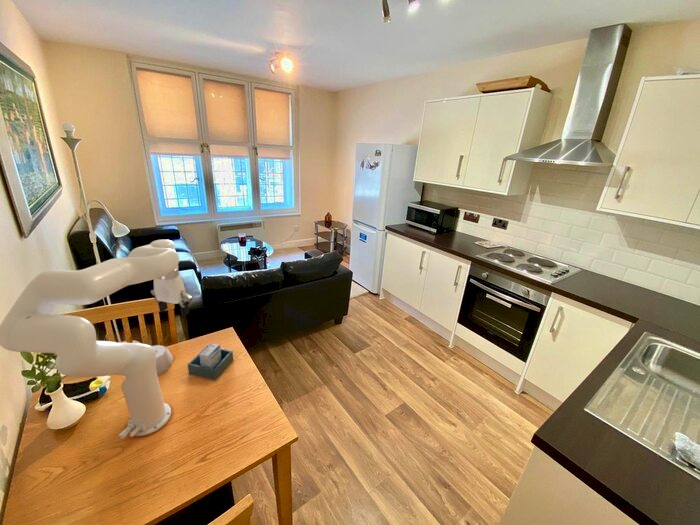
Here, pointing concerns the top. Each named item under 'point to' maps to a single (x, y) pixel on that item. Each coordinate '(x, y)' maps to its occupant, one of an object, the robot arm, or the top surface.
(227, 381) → the top surface
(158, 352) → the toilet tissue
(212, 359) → the medicine box
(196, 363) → the tub
